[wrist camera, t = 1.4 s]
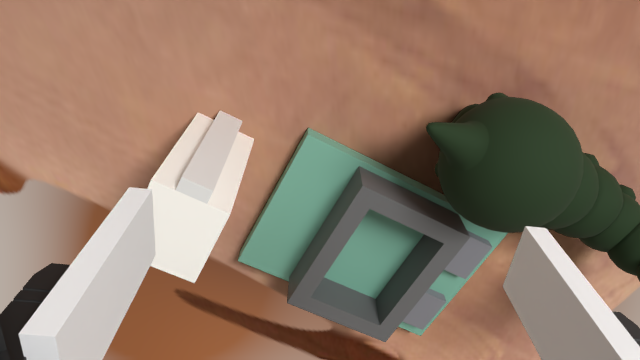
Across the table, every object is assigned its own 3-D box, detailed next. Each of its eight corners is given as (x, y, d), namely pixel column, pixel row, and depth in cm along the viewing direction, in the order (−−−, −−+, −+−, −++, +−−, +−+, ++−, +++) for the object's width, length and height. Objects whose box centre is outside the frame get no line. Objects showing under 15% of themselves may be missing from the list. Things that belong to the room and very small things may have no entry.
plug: (172, 171, 40) (120, 254, 30) (202, 101, 38) (156, 166, 27) (226, 194, 41) (194, 283, 31) (259, 129, 39) (236, 201, 28)
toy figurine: (648, 171, 42) (434, 29, 35) (882, 334, 26) (577, 136, 18) (573, 245, 46) (364, 132, 38) (736, 429, 30) (430, 297, 22)
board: (240, 251, 44) (231, 285, 40) (308, 127, 39) (306, 152, 34) (417, 324, 49) (427, 363, 44) (502, 223, 43) (523, 256, 38)
